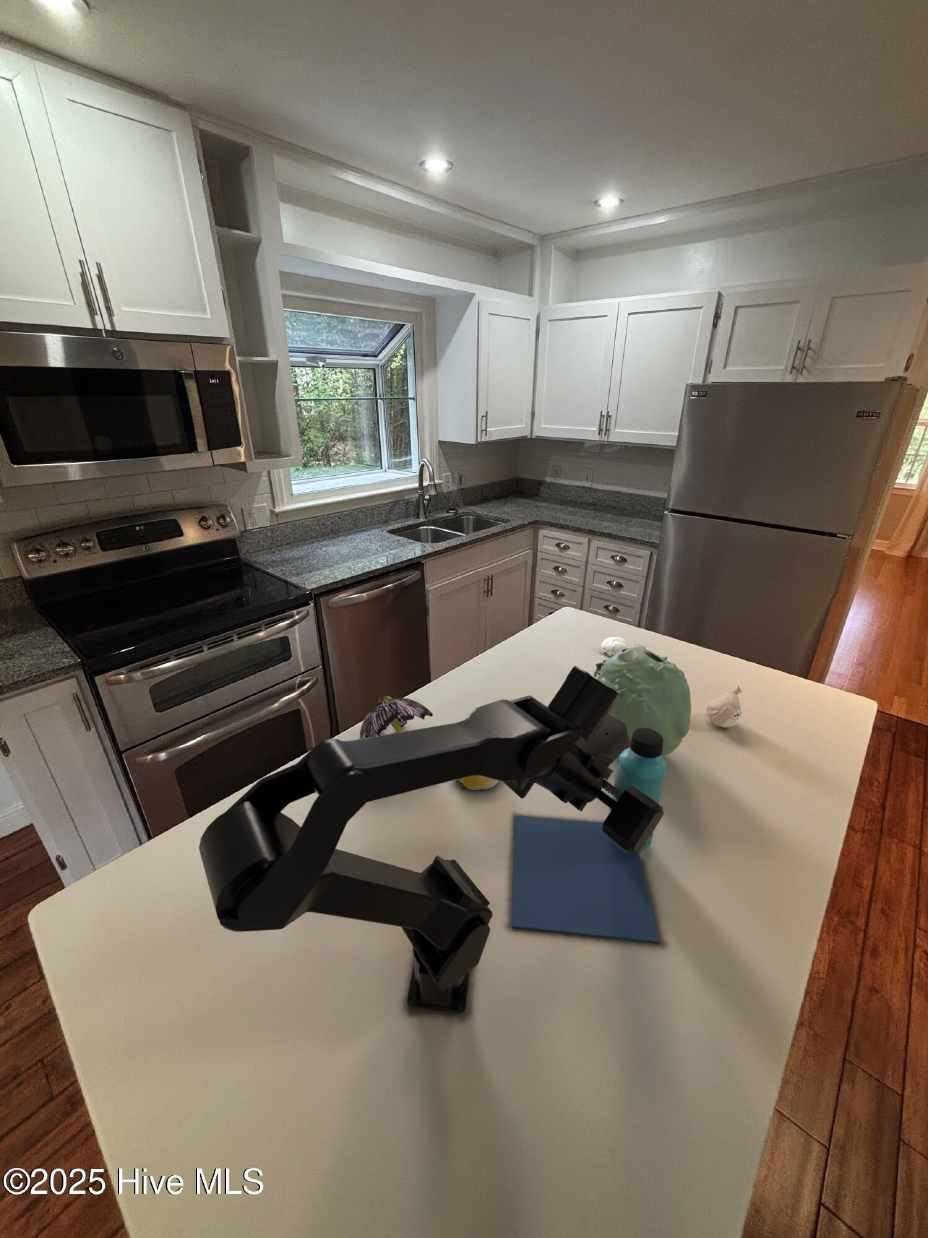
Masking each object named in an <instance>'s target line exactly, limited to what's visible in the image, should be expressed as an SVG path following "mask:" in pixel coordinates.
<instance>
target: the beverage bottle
mask: <svg viewBox="0 0 928 1238" xmlns="http://www.w3.org/2000/svg"><path fill="white" fill-rule="evenodd" d="M662 751H663V737H662V736H661V735H660V734H659V733H658V732H657V731H655V730H652V729H649V728H638V729H636V730H635V731H634V732H633V734H632V737H631V740H630V747H629V748H627V749H625V750H624V751H623V752H622V753H621V754H620V755H619V756H618V765H617V770H615V777H614V781H613V782H614V783H613V786H614V787H616V788H617V789H618V790H620V791H621V792H624V790H625V789H627V788H628V787H630V786H631V785H633V786H634V787H636V788H637V789H638V790H640V791H641V792H643V793H644V794H646V795H647V796H648V797H650V798H651V799H653V800H654V801H655V802H657V803H658V804H660V803H661V802H660V801H661V797H662V792H663V787H664V783H665V778H666V775H667V773H668V764H667V761H666V760H665V758H664V757H661V754H662ZM613 795H614V794H613ZM613 795H612V798H613V799H614V800H615V801H616V802H617V801H618V800H619V799H618V800H617V799H616V797H613ZM611 810H612V809H610V808H609V811H608V813H610V812H611ZM609 839H610V840H611V842H612V843H613V844H614V845H615V846H616V847H617V848H619V849H620V850H622V851H625V852H627V851H626V850H625V849H623V848H622V847H621V846H620V845H619V844H617V843H616V842H615V841H614V840H612V839H611V838H610V837H609ZM653 841H654V831H653V832H652V834H651V836H650V837H649V839H648V840H647V842H646V843H645V845H644V846H643V848H642V850H641V851H640V853H639V854H641V853H644V852H646V851H647V850H648V849H649V848H650V847H651V845H652V842H653ZM628 853H630V852H628ZM635 854H636V853H635Z"/></svg>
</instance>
